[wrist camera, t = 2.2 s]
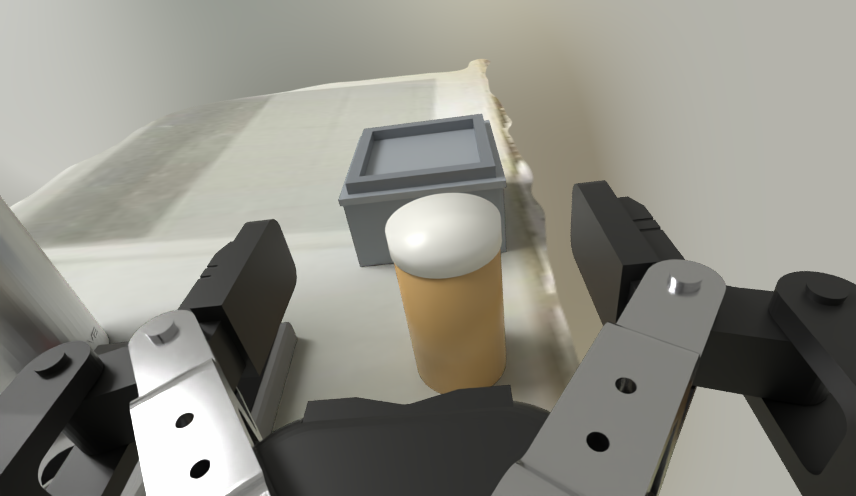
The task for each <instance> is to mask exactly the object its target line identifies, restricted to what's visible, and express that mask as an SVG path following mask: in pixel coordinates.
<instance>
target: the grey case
mask: <svg viewBox="0 0 856 496" xmlns="http://www.w3.org/2000/svg"><path fill="white" fill-rule="evenodd" d="M505 187H506V179H505V175H504V172H503V168H502V165H501V161H500V157H499V154H498V150H497V147H496V143H495V140H494V136H493V133H492V129H491V125H490V122H489V120H486V121H484V119H483V115H482V114H476V115H468V116H461V117H453V118H445V119H437V120H429V121H422V122H414V123H406V124H398V125H391V126H383V127H375V128H367V129H364V130H363V133H362V136H360V139H359V142H358V144H357V147H356V150H355V153H354V156H353V159H352V162H351V165H350V168H349V170H348V173H347V176H346V179H345V182H344V185H343V188H342V191H341V193H340V196H339V199H338V201H339V204H340V206H343V207H344V210H345V214H346V218H347V221H348V225H349V228H350V232H351V236H352V239H353V243H354V246H355V250H356V253H357V257H358V261H359V264H360V266H370V265H380V264H390V263H394V262H393V261H392V259H391V256H390V252H389V247H388V243H387V238H386V234H385V227H386V223H387V221H388V219H389V218H390V217H391V215H392V214H393V213H394V212H395V211H397V210H398V209H399V208H401V207H402V206H404V205H406V204H407V203H409V202H412V201H414V200H416V199H419V198H422V197H426V196H430V195H434V194H441V193H465V194H471V195H475V196H479V197H482V198H484V199H486V200H488V201H490V202H491V203H492V204H494V205H495V206H496V207H497V209H498V210H499V213H500V216H501V233H502V244H501V248H500V250H501V252H506V234H505V212H504V189H503V188H505Z"/></svg>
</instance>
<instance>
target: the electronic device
mask: <svg viewBox="0 0 856 496" xmlns="http://www.w3.org/2000/svg"><path fill="white" fill-rule="evenodd" d="M296 341H297V337H296V335H295V332H294V330H293V328H292V325H291V324H290V323H289V322H284V323H281V324H280V326H279V329H278V331H277V334H276V336H275V339H274V342H273V344H272V347H271V349H270V352H269V354H268V357H267V359H266V362H265V364H264V367H263V369H262V372H261V375H260V377H250V378H240V380H239V382H238V385H237V388H238V390H239V392H240V393H241V395H242V397H243V399H244V401H245V403H246V406H247V408H248V410H249V412H250V414H251V416H252V418H253V420H254V422H255V424H256V426H257V428H258V430H259V432H260V434H261V437H262V439H264V438H265V437H267V436H268V435H270V434H271V432H272V428H273V424H274V421H275V417H276V413H277V410H278V406H279V403H280V399H281V395H282V392H283V388H284V384H285V381H286V377H287V374H288V370H289V366H290V363H291V359H292V356H293V352H294V348H295V345H296ZM126 346H129V342H121V343H113V344H105V345H98V346H97V348H96V349H95V350H94V352H95V353H96V354H97V355H101V354H104V353H107V352H110V351H113V350H116V349H119V348H123V347H126Z"/></svg>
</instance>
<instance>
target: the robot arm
mask: <svg viewBox="0 0 856 496" xmlns="http://www.w3.org/2000/svg"><path fill="white" fill-rule="evenodd" d="M571 246H572V252H573V255H574V258H575V261H576V263H577V265H578V268H579V270H580V272H581V274H582V277H583V279H584V282H585V284H586V286H587V289H588V291H589V294H590V296H591V298H592V301H593V303H594V305H595V308H596V310H597V312H598V315H599V317H600V319H601V322H602V324H603V328H602V329H601V331H600V332H599V334H598V336H597V337H596V339H595V341H594V342H593V344H592V346H591V347H590V349H589V350H588V352H587V354H586V355H585V357H584V359H583V360H582V362H581V364H580V365H579V367H578V369H577V370H576V372H575V373H574V375H573V377H572V378H571V380H570V382H569V383H568V385H567V387H566V388H565V390H564V392H563V393H562V395H561V396H560V398H559V400H558V401H557V403H556V405H555V406H554V408H553V410H552V411H551V412H549V411H547V410H545V409H542V408H539V407H537V406H534V405H530V404H526V403H523V402H517V401H513V399H512V393H511V387H510V385H503V386H490V387H478V388H466V389H457V390H454V391H451V392H448V393H444V394H441V395H438V396H435V397H431V398H428V399H425V400H422V401H418V402H415V403H412V404H406V405H403V404H396V403H389V402H383V401H376V400H370V399H364V398H357V397H354V398H342V399H329V400H317V401H308V403H307V407H306V411H305V414H304V418H303V419H300V420H297V421H295V422H292V423H290V424H287V425H285V426H284V427H282V428H280V429H278V430H276V431H274V432H273V433H271V434H270V435H268V436H267V437H265V438H264V439H262V437H261V434H260V432H259V430H258V428H257V426H256V424H255V422H254V420H253V418H252V416H251V414H250V412H249V410H248V408H247V406H246V403H245V401H244V399H243V397H242V395H241V393H240V392H239V390H238V388H237V385H238V382H239V380H240V378H250V377H260V375H261V372H262V369H263V367H264V364H265V362H266V359H267V357H268V354H269V352H270V349H271V347H272V344H273V342H274V339H275V336H276V334H277V331H278V329H279V326H280V324H281V321H282V319H283V316H284V314H285V311H286V309H287V306H288V303H289V301H290V298H291V296H292V293H293V291H294V288H295V285H296V279H297V275H296V267H295V264H294V261H293V259H292V256H291V253H290V251H289V248H288V246H287V243H286V240H285V238H284V235H283V233H282V230H281V227H280V225H279V223H278V222H277V221H276V220H274V219H270V220H262V221H253V222H247V223H245V224H244V226H243V227H242V229H241V230H240V232H239V233H238V235H237V237H236V238H235V240H234V241H233V242H229V243H228V244H227V245H226V246H225V247H223V248H222V249H221V250H220V251H218V252H217V253H216V254H215V255H214V257H213V258H212V260H211V261H210V263H209V264H208V266H207V267H208V268H207V269H205V270H204V272H203V273H202V274H201V276H200V277H201V278H200V279H198V280H197V282H196V283H195V285H194V286H193V288H192V289H191V291H190V292H189V294H188V295H187V297H186V298H185V299H184V301H183V302H182V304H181V305H180V307H179V308H178V310H175V311H170V312H167V313H164V314H161V315H159V316H157V317H155V318H153V319H151V320H150V321H148V322H146V323H145V324H144V325H142V326H141V327H140V328H139V329H138V330H137V331H136V332H135V333H134V334H133V336H132V337H131V339H130V341H129V346H126V347H123V348H119V349H116V350H113V351H110V352H107V353H104V354H101V355H97V354H96V353H95V352H94V350H95V349H96V348H97V346H98V345H105V344H109V339H108V336H107V334H106V333H105V331H104V330H103V329H102V328H101V326H100V325H99V324H98V322H97V321H96V320H95V318H94V317H93V316H92V315H91V313H90V312H89V311H88V309H87V308H86V307H85V305H84V304H83V303H82V302H81V300H80V299H79V297H78V296H77V295H76V293H75V292H74V291H73V289H72V288H71V287H70V286H69V284H68V283H67V282H66V280H65V279H64V278H63V277H62V275H61V274H60V273H59V271H58V270H57V269H56V267H55V266H54V265H53V264H52V262H51V261H50V260H49V258H48V257H47V256H46V254H45V253H44V252H43V251H42V249H41V248H40V247H39V245H38V244H37V243H36V242H35V240H34V239H33V238H32V236H31V235H30V234H29V232H28V231H27V230H26V229H25V227H24V226H23V225H22V223H21V222H20V221H19V220H18V218H17V217H16V216H15V214H14V213H13V212H12V210H11V209H10V208H9V207H8V205H7V204H6V203H5V201H4V200H3V199H2V197H1V196H0V496H121V494H122V492H123V490H124V488H125V486H126V484H127V482H128V480H129V478H130V476H131V474H132V472H133V470H134V468H135V466H136V464H137V462H138V460H139V458H140V463H141V468H142V473H143V479H144V484H145V489H146V494H147V496H658V495H659V492H660V489H661V486H662V484H663V481H664V478H665V475H666V472H667V469H668V466H669V463H670V459H671V457H672V454H673V451H674V448H675V445H676V443H677V440H678V437H679V434H680V431H681V429H682V426H683V423H684V420H685V418H686V415H687V412H688V409H689V407H690V404H691V401H692V399H693V396H694V393H695V390H696V388H697V386H699V387H704V388H709V389H715V390H721V391H726V392H732V393H737V394H743V395H744V397H745V398H746V400H747V402H748V404H749V405H750V407H751V409H752V410H753V412H754V414H755V415H756V417H757V419H758V421H759V422H760V424H761V426H762V428H763V429H764V431H765V433H766V434H767V436H768V438H769V440H770V441H771V443H772V445H773V446H774V448H775V450H776V452H777V453H778V455H779V457H780V458H781V460H782V462H783V463H784V465H785V467H786V469H787V470H788V472H789V473H790V475H791V477H792V479H793V481H794V482H795V484H796V486H797V487H798V489H799V491H800V492H801V494H802V496H856V285H855V284H854V283H852V282H849V281H847V280H845V279H843V278H840V277H837V276H834V275H829V274H825V273H820V272H810V271H800V272H793V273H789V274H787V275H784V276H783V277H781V278H780V279H779V280H778V282H777V285H776V287H775V290H774V291H765V290H755V289H746V288H737V287H731V286H726V285H725V282H724V280H723V278H722V277H721V276H720V275H719V274H718V273H717V272H716V271H714V270H712V269H711V268H709V267H707V266H705V265H702V264H700V263H696V262H693V261H688V260H685V259H684V258H683V256H682V255H681V254H680V252H679V251H678V250H677V249H676V247H675V246H674V245H673V243H672V242H671V240H670V239H669V238H668V237H667V235H666V234H665V233H664V231H663V230H661V229H660V226H659V225H658V223H657V222H656V221H655V220H653V217H652V216H651V214H650V213H649V212H648V210H647V209H646V208H645V207H644V205H642V204H640V203H638V202H636V201H635V200H633V199H631V198H629V197H620V198H617V197H616V195H615V194H614V192H613V191H612V189H611V188H610V186H609V185H608V183H607V182H606V181H605V180H604V181H594V182H586V183H578V184H575V185H574V187H573V192H572V216H571ZM61 432H62V433H63V434H64V435H65V436H66V437H67V438H68V439H69V440H70V441H71V442H73V443H74V444H75V446H74V447H73V449H72V450H71V452H70V453H69V455H68V457H67V458H66V460H65V461H64V463H63V464H62V466H61V467H60V469H59V471H58V472H57V474H56V475H55V477H54V478H53V480H52V481H51V483H50V485H49V486H48V488H47V489H46V490H45V489H44V488H43V487H42V486H41V485H40V483H39V480H38V470H39V466H40V464H41V461H42V460H43V458H44V456H45V455H46V454H47V452H48V451H49V449H50V448H51V446H52V445H53V443H54V442H55V440H56V439H57V438H58V436H59V435H60V433H61Z"/></svg>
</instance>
